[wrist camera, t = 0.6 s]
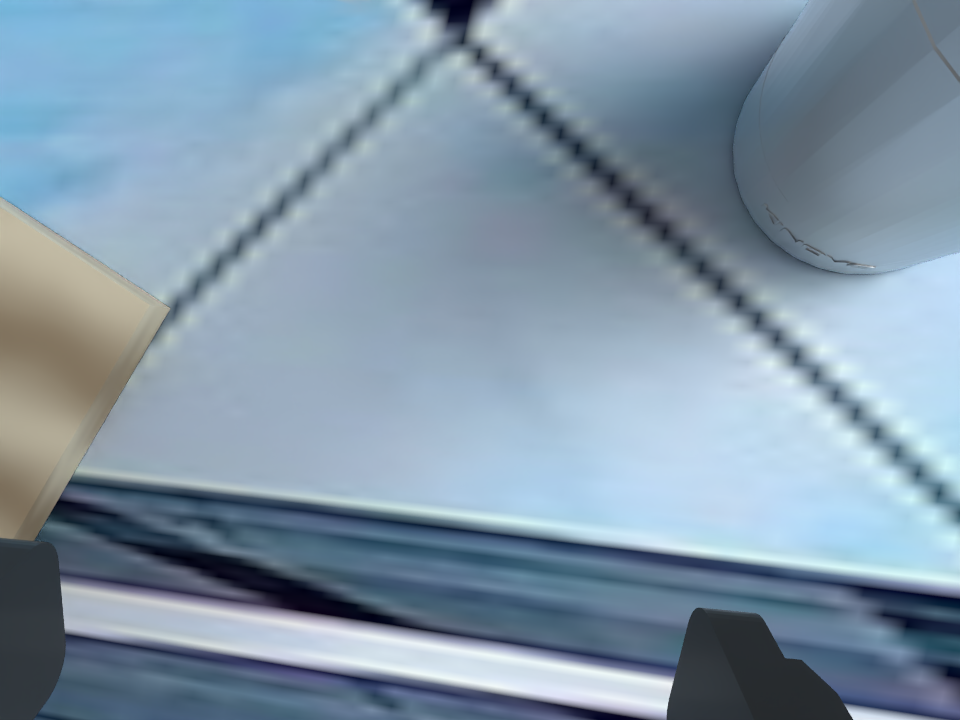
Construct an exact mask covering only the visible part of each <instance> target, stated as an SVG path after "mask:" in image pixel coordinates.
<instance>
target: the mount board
mask: <svg viewBox="0 0 960 720" xmlns="http://www.w3.org/2000/svg"><path fill="white" fill-rule="evenodd" d="M169 310H170V307H168V306H166V305H165V304H163V303H162V302H160V301H159V300H157V299H156V298H154V297H153V296H151V295H150V294H148V293H147V292H145V291H144V290H142V289H141V288H139V287H137V286H136V285H134V284H133V283H131V282H130V281H128V280H127V279H125V278H124V277H122V276H121V275H119V274H118V273H116V272H115V271H113V270H111V269H110V268H108V267H107V266H105V265H104V264H102V263H101V262H99V261H98V260H96V259H95V258H93V257H92V256H90V255H89V254H87V253H85V252H84V251H82V250H81V249H79V248H78V247H76V246H75V245H73V244H72V243H70V242H69V241H67V240H66V239H64V238H63V237H61V236H59V235H58V234H56V233H55V232H53V231H52V230H50V229H49V228H47V227H46V226H44V225H43V224H41V223H40V222H38V221H37V220H35V219H34V218H32V217H30V216H29V215H27V214H26V213H24V212H23V211H21V210H20V209H18V208H17V207H15V206H14V205H12V204H11V203H9V202H8V201H6V200H4V199H3V198H1V197H0V538H8V539H18V540H29V541H34V540H35V538H36V537H37V535H38V533H39V531H40V530H41V528H42V526H43V525H44V523H45V521H46V520H47V518H48V516H49V514H50V513H51V511H52V509H53V508H54V506H55V504H56V502H57V501H58V499H59V497H60V496H61V494H62V492H63V491H64V489H65V487H66V485H67V484H68V482H69V480H70V479H71V477H72V475H73V474H74V472H75V470H76V468H77V467H78V465H79V463H80V462H81V460H82V458H83V457H84V455H85V453H86V451H87V450H88V448H89V446H90V445H91V443H92V441H93V439H94V438H95V436H96V434H97V433H98V431H99V429H100V428H101V426H102V424H103V422H104V421H105V419H106V417H107V416H108V414H109V412H110V411H111V409H112V407H113V405H114V404H115V402H116V400H117V399H118V397H119V395H120V393H121V392H122V390H123V388H124V387H125V385H126V383H127V382H128V380H129V378H130V376H131V375H132V373H133V371H134V370H135V368H136V366H137V365H138V363H139V361H140V359H141V358H142V356H143V354H144V353H145V351H146V349H147V348H148V346H149V344H150V342H151V341H152V339H153V337H154V336H155V334H156V332H157V330H158V329H159V327H160V325H161V324H162V322H163V320H164V319H165V317H166V315H167V313H168V312H169Z"/></svg>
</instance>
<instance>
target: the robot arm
mask: <svg viewBox="0 0 960 720" xmlns="http://www.w3.org/2000/svg"><path fill="white" fill-rule="evenodd" d="M733 161H734V175H735V178H736V181H737V185H738V188H739V191H740V195H741V198H742V200H743V202H744V204H745V206H746V207H747V209H748V211H749V213H750V215H751V216H752V218H753V220H754V222H755V223H756V224H757V225H758V226H759V227H760V229H761V230H762V231H763V232H764V233H765V234H766V235H767V236H768V237H769V239H770V240H771V241H772V242H774V243H775V244H776V245H778V246H779V247H780V248H782V249H783V250H785V251H786V252H787V253H789V254H790V255H791V256H793V257H795V258H797V259H799V260H801V261H804V262H806V263H808V264H810V265H813V266H815V267H817V268H820V269H825V270H829V271H834V272H839V273H843V274H878V273H883V272H889V271H894V270H899V269H903V268H907V267H910V266H913V265H917V264H920V263H924V262H927V261H930V260H934V259H937V258H941V257H944V256H947V255H951V254H956V253H959V252H960V0H809V1H808V3H807V5H806V6H805V8H804V9H803V11H802V12H801V14H800V15H799V17H798V18H797V20H796V21H795V23H794V25H793V26H792V28H791V29H790V31H789V32H788V34H787V35H786V36H785V38H784V39H783V41H782V42H781V44H780V45H779V47H778V48H777V50H776V52H775V53H774V55H773V56H772V58H771V59H770V61H769V63H768V64H767V66H766V67H765V69H764V71H763V72H762V74H761V75H760V77H759V78H758V80H757V82H756V83H755V85H754V86H753V88H752V89H751V91H750V93H749V94H748V96H747V97H746V99H745V102H744V105H743V107H742V110H741V112H740V115H739V118H738V120H737V123H736V130H735V136H734V143H733ZM65 647H66V644H65V630H64V619H63V607H62V596H61V584H60V573H59V561H58V555H57V552H56V549H55V548H54V546H53V545H52V544H50V543H48V542H39V541H29V540H18V539H8V538H0V720H33V719H34V718H35V716H36V715H37V714H38V712H39V711H40V710H41V708H42V707H43V705H44V704H45V703H46V701H47V700H48V698H49V697H50V695H51V693H52V692H53V690H54V688H55V686H56V683H57V681H58V679H59V676H60V673H61V670H62V666H63V662H64V657H65ZM667 720H853V719H852V717H851V715H850V714H849V712H848V710H847V709H846V707H845V705H844V704H843V702H842V700H841V699H840V697H839V696H838V694H837V693H836V692H835V691H834V690H833V689H832V688H831V687H830V686H829V685H828V684H827V683H826V682H824V681H823V680H822V679H821V678H820V677H819V676H818V675H817V674H816V673H815V672H814V671H813V670H812V669H811V668H810V667H808V666H807V665H806V664H805V663H804V662H803V661H802V660H797V659H787V658H784V656H783V654H782V652H781V650H780V649H779V647H778V645H777V643H776V641H775V640H774V638H773V636H772V634H771V632H770V630H769V629H768V627H767V625H766V623H765V622H764V620H763V618H762V617H761V616H760V615H758V614H757V613H749V612H739V611H729V610H718V609H708V608H696V609H695V610H694V611H693V613H692V615H691V617H690V619H689V623H688V627H687V630H686V634H685V638H684V642H683V646H682V650H681V654H680V658H679V662H678V666H677V670H676V674H675V678H674V682H673V686H672V690H671V694H670V698H669V702H668V709H667Z"/></svg>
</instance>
